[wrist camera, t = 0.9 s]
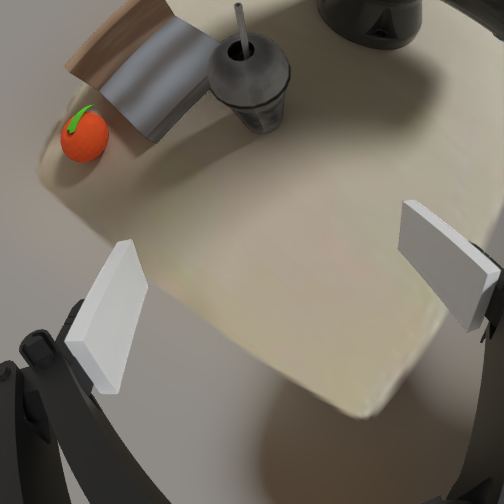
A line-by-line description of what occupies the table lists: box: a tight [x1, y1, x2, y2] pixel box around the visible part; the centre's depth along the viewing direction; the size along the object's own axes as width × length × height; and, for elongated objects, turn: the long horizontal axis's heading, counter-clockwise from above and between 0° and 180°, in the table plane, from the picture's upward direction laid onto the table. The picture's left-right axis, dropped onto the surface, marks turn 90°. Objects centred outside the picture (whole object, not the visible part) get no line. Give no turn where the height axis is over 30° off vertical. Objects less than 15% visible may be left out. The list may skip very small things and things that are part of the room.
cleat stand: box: [64, 0, 220, 144], centre depth 31 cm, size 14×15×10 cm
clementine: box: [61, 105, 109, 162], centre depth 35 cm, size 8×7×7 cm
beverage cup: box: [207, 3, 290, 134], centre depth 25 cm, size 7×7×20 cm
